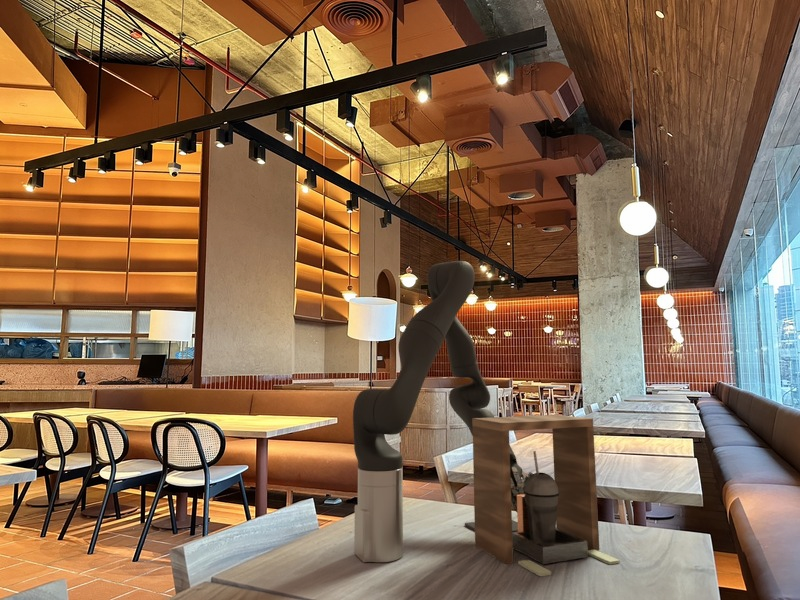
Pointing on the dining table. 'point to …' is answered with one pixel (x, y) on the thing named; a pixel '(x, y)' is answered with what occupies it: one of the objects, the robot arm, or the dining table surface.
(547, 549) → the shallow grey tray
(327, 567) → the dining table surface
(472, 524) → the dark grey slab
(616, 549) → the dining table surface
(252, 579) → the dining table surface
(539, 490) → the beverage cup
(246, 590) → the dining table surface
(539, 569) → the pair of cream slabs
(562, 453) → the tunnel
